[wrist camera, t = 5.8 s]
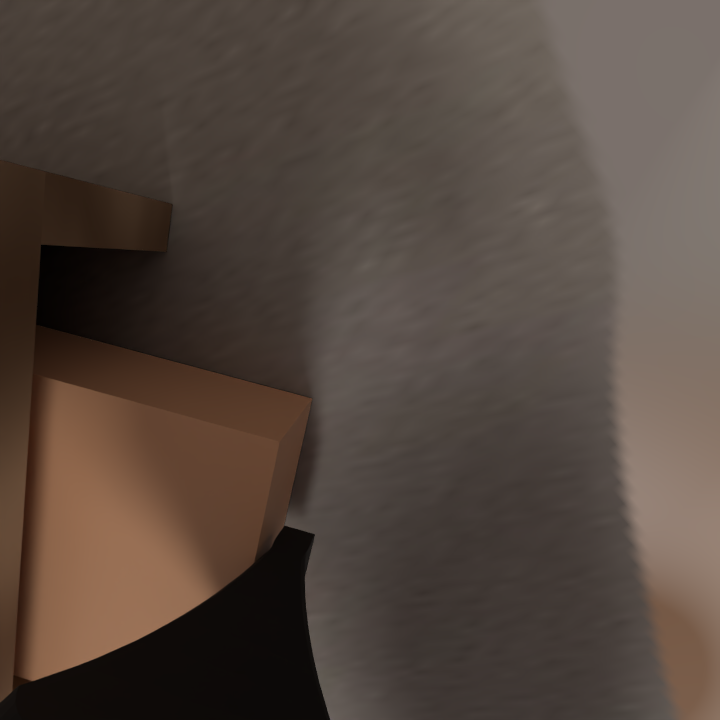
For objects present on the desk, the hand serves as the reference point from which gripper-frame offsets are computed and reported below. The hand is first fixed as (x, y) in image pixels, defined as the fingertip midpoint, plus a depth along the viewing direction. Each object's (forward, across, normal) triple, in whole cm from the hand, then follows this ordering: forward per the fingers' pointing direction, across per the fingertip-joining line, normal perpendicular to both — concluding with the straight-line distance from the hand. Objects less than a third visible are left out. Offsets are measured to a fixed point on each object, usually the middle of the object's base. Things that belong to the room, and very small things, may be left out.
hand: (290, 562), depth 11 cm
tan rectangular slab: (+1, +7, 0) cm, 7 cm away
